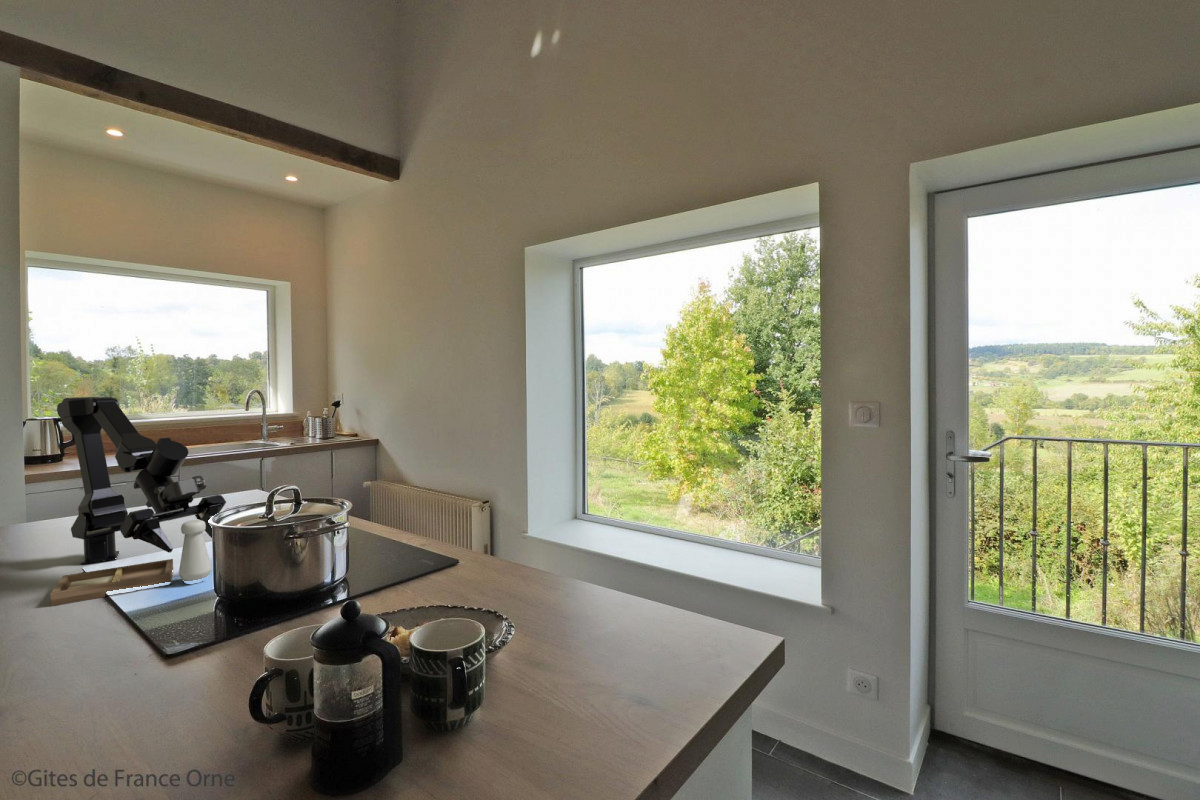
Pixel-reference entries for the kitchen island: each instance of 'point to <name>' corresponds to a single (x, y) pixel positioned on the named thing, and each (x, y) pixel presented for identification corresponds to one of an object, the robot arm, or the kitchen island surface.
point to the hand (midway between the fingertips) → (194, 544)
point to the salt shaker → (194, 552)
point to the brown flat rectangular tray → (109, 581)
